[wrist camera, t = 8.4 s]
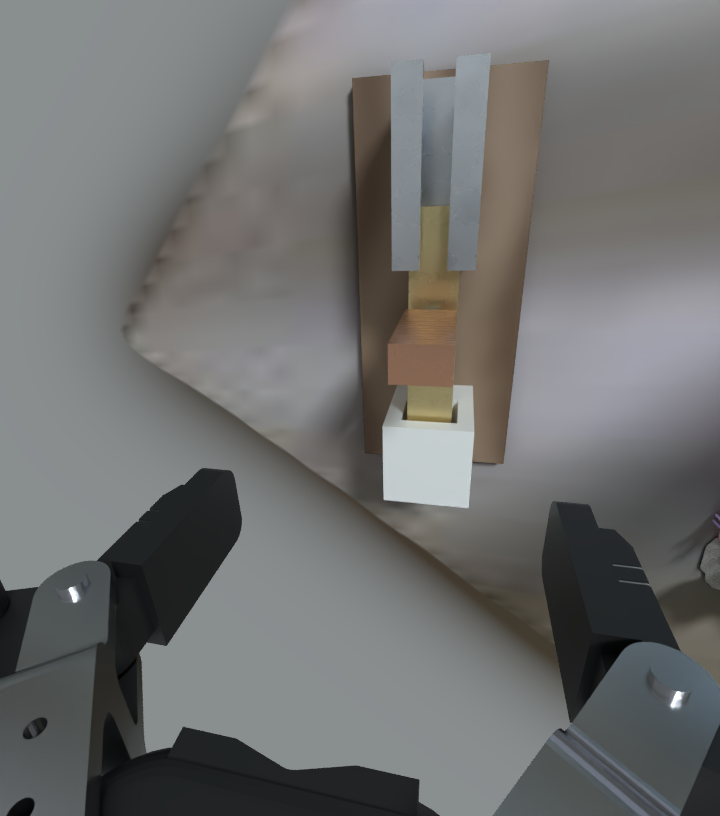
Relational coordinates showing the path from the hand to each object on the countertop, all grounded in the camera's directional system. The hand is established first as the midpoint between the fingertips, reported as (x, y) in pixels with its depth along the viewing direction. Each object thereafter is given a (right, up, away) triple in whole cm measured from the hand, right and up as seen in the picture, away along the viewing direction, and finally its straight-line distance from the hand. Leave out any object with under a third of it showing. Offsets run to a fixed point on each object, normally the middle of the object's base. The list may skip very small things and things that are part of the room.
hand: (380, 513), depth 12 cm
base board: (+5, +11, +24) cm, 27 cm away
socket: (+6, +2, +28) cm, 28 cm away
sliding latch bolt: (+5, +8, +20) cm, 22 cm away
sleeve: (+5, +18, +19) cm, 27 cm away
